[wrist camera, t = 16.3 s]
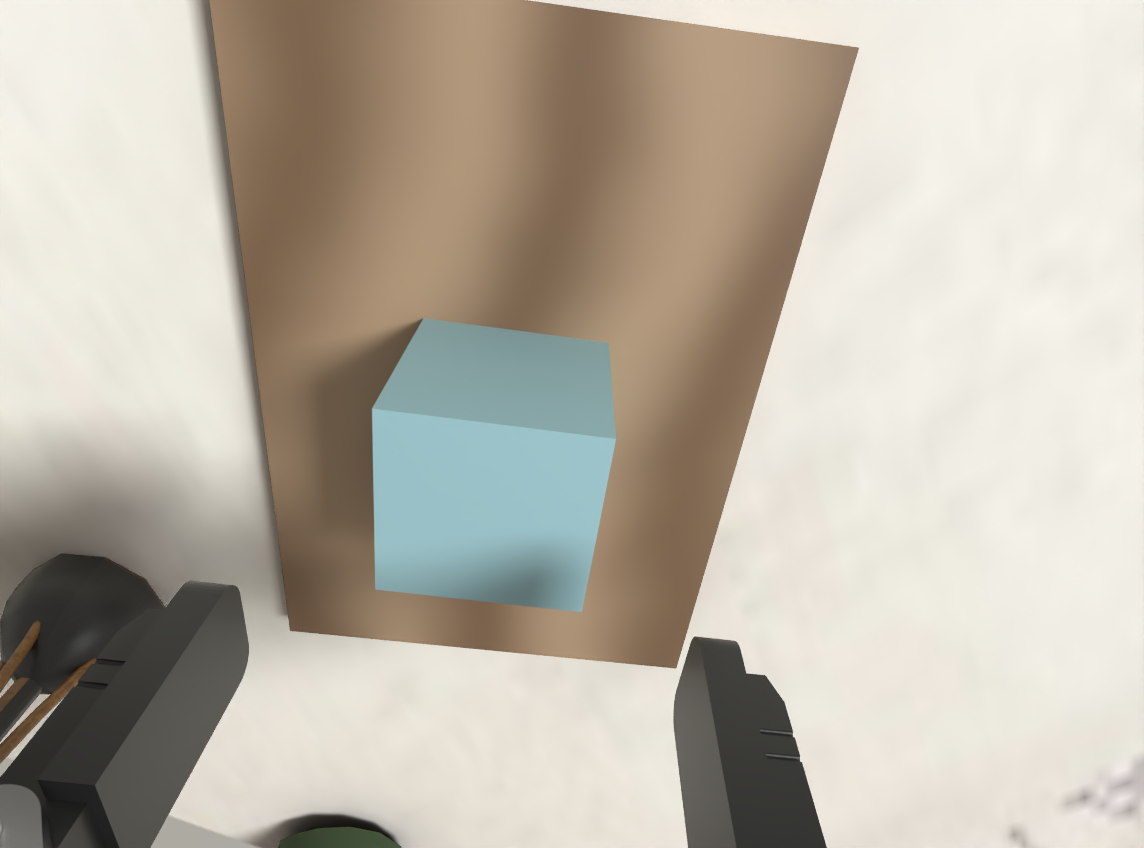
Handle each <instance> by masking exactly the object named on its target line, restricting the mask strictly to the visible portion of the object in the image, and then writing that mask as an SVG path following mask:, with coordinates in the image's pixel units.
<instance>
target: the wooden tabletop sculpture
mask: <svg viewBox="0 0 1144 848" xmlns="http://www.w3.org/2000/svg"><path fill="white" fill-rule="evenodd" d="M148 609H157V610H165V607H164V605H163V604H162V602H161V601H160V599H159V598H158V597H157V595H156V594H155V592H154V591H153V590H152V588H151V587H150V585H149V584H148V582H147V581H146V580H145V579H144V578H142V577H140V576H138V575H136V574H134V573H132V572H130V571H129V570H127V569H125V568H123V567H121V566H119V565H117V564H116V563H114V562H112V561H110V560H108V559H106V558H101V557H90V556H79V555H68V554H60V555H59V556H57V557H55V558H53V559H52V560H50V561H48V562H46V563H44V564H43V565H41V566H39V567H37V568H35V569H34V570H33V571H32V572H31V573H30V574H29V575H28V576H27V577H26V578H25V579H24V580H23V581H22V582H21V583H20V584H19V585H18V587H17V588H16V589H15V591H14V592H13V593H12V595H11V596H10V598H9V599H8V600H7V602H6V605H5V609H4V612H3V615H2V618H1V621H0V652H1V661H0V692H1V691H2V690H3V688H4V687H5V685H6V684H7V682H8V681H9V680H10V678H12V679H13V680H14V684H13V685H12V686H11V687H10V688H9V689H8V690H7V691H6V693H5V694H4V695H3V696H2V697H1V698H0V741H1V740H2V739H3V738H4V737H5V735H6V734H7V733H8V732H9V730H10V729H11V728H12V727H13V726H14V724H15V723H16V722H17V721H18V720H19V718H20V717H21V716H22V715H23V714H24V712H25V711H26V710H27V709H28V707H29V706H30V705H31V704H32V703H33V701H34V700H35V699H36V698H37V697H38V695H39V694H51V695H50V696H49V697H48V698H47V699H46V700H45V701H43V702H42V703H41V704H40V705H39V706H38V707H37V708H36V709H35V710H34V711H33V712H32V713H31V714H30V715H29V716H28V717H27V718H26V719H25V720H24V721H23V722H22V723H21V724H20V725H19V726H18V727H17V728H16V729H15V730H14V731H13V732H12V733H11V734H10V735H9V736H8V737H7V738H6V739H5V740H4V741H3V742H2V743H1V744H0V763H1V762H2V761H3V760H4V759H5V758H6V757H7V756H8V755H9V754H10V753H11V751H12V750H13V749H14V748H15V747H16V746H17V745H18V744H19V743H20V742H21V741H22V740H23V739H24V738H25V736H26V735H27V734H28V733H29V732H30V731H31V730H32V729H33V728H34V727H35V726H36V725H37V724H38V722H39V721H40V720H41V719H42V718H43V717H44V716H45V715H46V714H47V713H48V712H49V711H50V710H51V709H52V708H53V707H55V706H56V705H57V704H58V703H59V702H60V701H61V700H62V699H63V698H64V697H65V696H66V695H67V694H68V693H69V691H70V690H71V689H72V688H73V687H76V686H77V684H78V680H79V679H80V678H81V676H82V675H83V674H84V673H85V671H86V670H87V669H88V668H89V666H90V665H91V664H94V663H95V662H96V658H97V656H98V655H99V654H100V653H101V651H102V650H103V649H104V648H105V646H106V645H107V644H108V643H109V641H110V640H111V639H112V638H113V636H114V635H115V634H116V633H117V631H119V630H120V629H121V628H123V627H124V626H126V625H127V624H128V623H130V622H131V621H133V620H134V619H135V618H137V617H138V616H140V615H141V614H143V613H144V612H145V611H147V610H148Z"/></svg>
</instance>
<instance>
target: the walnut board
mask: <svg viewBox="0 0 1144 848" xmlns="http://www.w3.org/2000/svg"><path fill="white" fill-rule="evenodd" d="M209 2H210V10H211V18H212V26H213V34H214V41H215V49H216V57H217V65H218V73H219V80H220V88H221V96H222V104H223V112H224V119H225V127H226V135H227V143H228V151H229V158H230V166H231V174H232V182H233V190H234V197H235V205H236V213H237V221H238V229H239V236H240V244H241V252H242V260H243V268H244V275H245V283H246V291H247V299H248V307H249V314H250V322H251V330H252V338H253V346H254V353H255V361H256V369H257V377H258V385H259V392H260V400H261V408H262V416H263V424H264V431H265V439H266V447H267V455H268V463H269V470H270V478H271V486H272V494H273V502H274V509H275V517H276V525H277V533H278V541H279V548H280V556H281V564H282V572H283V580H284V587H285V595H286V603H287V611H288V619H289V626H290V631H298V632H308V633H319V634H329V635H339V636H349V637H360V638H370V639H380V640H390V641H401V642H411V643H421V644H431V645H442V646H452V647H462V648H472V649H483V650H493V651H503V652H514V653H524V654H534V655H544V656H555V657H565V658H575V659H585V660H596V661H606V662H616V663H626V664H637V665H647V666H657V667H667V668H676V667H677V664H678V660H679V657H680V654H681V650H682V647H683V643H684V640H685V637H686V633H687V630H688V626H689V623H690V620H691V616H692V613H693V610H694V606H695V603H696V599H697V596H698V593H699V589H700V586H701V582H702V579H703V576H704V572H705V569H706V565H707V562H708V559H709V555H710V552H711V548H712V545H713V542H714V538H715V535H716V531H717V528H718V525H719V521H720V518H721V514H722V511H723V508H724V504H725V501H726V497H727V494H728V491H729V487H730V484H731V481H732V477H733V474H734V470H735V467H736V464H737V460H738V457H739V453H740V450H741V447H742V443H743V440H744V436H745V433H746V430H747V426H748V423H749V419H750V416H751V413H752V409H753V406H754V402H755V399H756V396H757V392H758V389H759V385H760V382H761V379H762V375H763V372H764V368H765V365H766V362H767V358H768V355H769V351H770V348H771V345H772V341H773V338H774V335H775V331H776V328H777V324H778V321H779V318H780V314H781V311H782V307H783V304H784V301H785V297H786V294H787V290H788V287H789V284H790V280H791V277H792V273H793V270H794V267H795V263H796V260H797V256H798V253H799V250H800V246H801V243H802V239H803V236H804V233H805V229H806V226H807V222H808V219H809V216H810V212H811V209H812V206H813V202H814V199H815V195H816V192H817V189H818V185H819V182H820V178H821V175H822V172H823V168H824V165H825V161H826V158H827V155H828V151H829V148H830V144H831V141H832V138H833V134H834V131H835V127H836V124H837V121H838V117H839V114H840V110H841V107H842V104H843V100H844V97H845V93H846V90H847V87H848V83H849V80H850V76H851V73H852V70H853V66H854V63H855V60H856V56H857V53H858V49H859V48H857V47H850V46H843V45H836V44H829V43H822V42H815V41H808V40H801V39H794V38H787V37H780V36H773V35H766V34H759V33H752V32H745V31H738V30H731V29H724V28H717V27H710V26H703V25H696V24H689V23H682V22H675V21H668V20H661V19H654V18H647V17H640V16H633V15H626V14H619V13H612V12H605V11H598V10H591V9H584V8H577V7H570V6H563V5H556V4H549V3H542V2H535V1H528V0H209ZM423 318H426V319H434V320H441V321H449V322H456V323H464V324H472V325H479V326H487V327H494V328H502V329H509V330H517V331H524V332H532V333H539V334H547V335H555V336H562V337H570V338H577V339H585V340H592V341H600V342H607V343H609V353H610V366H611V379H612V392H613V405H614V418H615V431H616V442H615V447H614V452H613V457H612V462H611V467H610V473H609V478H608V483H607V488H606V493H605V498H604V503H603V508H602V513H601V518H600V523H599V528H598V533H597V538H596V543H595V548H594V553H593V558H592V564H591V569H590V574H589V579H588V584H587V589H586V594H585V599H584V604H583V609H582V612H574V611H565V610H556V609H547V608H538V607H529V606H520V605H511V604H502V603H493V602H484V601H475V600H466V599H457V598H447V597H438V596H429V595H420V594H411V593H402V592H393V591H384V590H375V547H374V490H373V433H372V408H373V406H374V404H375V403H376V401H377V399H378V397H379V396H380V394H381V392H382V390H383V389H384V387H385V385H386V383H387V382H388V380H389V378H390V376H391V375H392V373H393V371H394V369H395V367H396V366H397V364H398V362H399V360H400V359H401V357H402V355H403V353H404V352H405V350H406V348H407V346H408V345H409V343H410V341H411V339H412V338H413V336H414V334H415V332H416V331H417V329H418V327H419V325H420V324H421V322H422V320H423Z"/></svg>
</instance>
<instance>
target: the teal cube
mask: <svg viewBox="0 0 1144 848" xmlns="http://www.w3.org/2000/svg"><path fill="white" fill-rule="evenodd" d="M372 433H373V490H374V547H375V590H384V591H393V592H402V593H411V594H420V595H429V596H438V597H447V598H457V599H466V600H475V601H484V602H493V603H502V604H511V605H520V606H529V607H538V608H547V609H556V610H565V611H574V612H582V609H583V604H584V599H585V594H586V589H587V584H588V579H589V574H590V569H591V564H592V558H593V553H594V548H595V543H596V538H597V533H598V528H599V523H600V518H601V513H602V508H603V503H604V498H605V493H606V488H607V483H608V478H609V473H610V467H611V462H612V457H613V452H614V447H615V442H616V431H615V418H614V405H613V392H612V379H611V366H610V353H609V343H607V342H600V341H592V340H585V339H577V338H570V337H562V336H555V335H547V334H539V333H532V332H524V331H517V330H509V329H502V328H494V327H487V326H479V325H472V324H464V323H456V322H449V321H441V320H434V319H426V318H423V320H422V322H421V324H420V325H419V327H418V329H417V331H416V332H415V334H414V336H413V338H412V339H411V341H410V343H409V345H408V346H407V348H406V350H405V352H404V353H403V355H402V357H401V359H400V360H399V362H398V364H397V366H396V367H395V369H394V371H393V373H392V375H391V376H390V378H389V380H388V382H387V383H386V385H385V387H384V389H383V390H382V392H381V394H380V396H379V397H378V399H377V401H376V403H375V404H374V406H373V408H372Z"/></svg>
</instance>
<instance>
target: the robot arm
mask: <svg viewBox="0 0 1144 848" xmlns="http://www.w3.org/2000/svg"><path fill="white" fill-rule="evenodd" d="M248 655H249V644H248V638H247V632H246V626H245V620H244V614H243V608H242V602H241V596H240V592H239V589H238V588H237V587H236V586H234V585H225V584H215V583H206V582H197V581H189V582H187V583H185V584H184V585H183V586H182V587H181V589H180V590H179V591H178V592H177V594H176V595H175V596H174V598H173V599H172V600H171V602H170V603H169V604H168V606H167V607H166V608H165V610H157V609H148V610H147V611H145V612H144V613H143V614H141V615H140V616H138V617H137V618H135V619H134V620H133V621H131V622H130V623H128V624H127V625H126V626H124V627H123V628H121V629H120V630H119V631H117V633H116V634H115V635H114V636H113V638H112V639H111V640H110V641H109V643H108V644H107V645H106V646H105V648H104V649H103V650H102V651H101V653H100V654H99V655H98V656H97V658H96V662H95V663H94V664H91V665H90V666H89V668H88V669H87V670H86V671H85V673H84V674H83V675H82V676H81V678H80V679H79V680H78V684H77V686H76V687H73V688H72V689H71V690H70V691H69V693H68V694H67V695H66V696H65V698H64V699H63V700H62V701H61V703H60V704H59V705H58V706H57V708H56V709H55V710H54V711H53V713H52V714H51V715H50V716H49V718H48V719H47V720H46V721H45V723H44V724H43V725H42V726H41V728H40V729H39V730H38V731H37V733H36V734H35V735H34V736H33V738H32V739H31V740H30V741H29V743H28V744H27V745H26V746H25V747H24V749H23V750H22V751H21V752H20V754H19V755H18V756H17V757H16V759H15V760H14V761H13V763H12V764H11V765H10V766H9V767H8V769H7V770H6V771H5V773H4V774H3V775H2V776H1V777H0V848H150V847H151V845H152V843H153V842H154V840H155V838H156V836H157V834H158V833H159V831H160V829H161V827H162V825H163V823H164V821H165V819H166V818H167V816H168V814H169V812H170V811H171V809H172V807H173V805H174V803H175V801H176V800H177V798H178V796H179V794H180V792H181V790H182V789H183V787H184V785H185V783H186V781H187V780H188V778H189V776H190V774H191V772H192V770H193V769H194V767H195V765H196V763H197V761H198V759H199V758H200V756H201V754H202V752H203V750H204V748H205V747H206V745H207V743H208V741H209V739H210V737H211V736H212V734H213V732H214V730H215V728H216V726H217V725H218V723H219V721H220V719H221V717H222V715H223V714H224V712H225V710H226V708H227V706H228V704H229V703H230V701H231V699H232V697H233V695H234V694H235V692H236V690H237V688H238V686H239V684H240V682H241V680H242V678H243V675H244V673H245V669H246V666H247V661H248ZM674 732H675V741H676V749H677V758H678V766H679V774H680V783H681V791H682V799H683V808H684V816H685V824H686V833H687V841H688V848H827V847H826V844H825V840H824V837H823V833H822V830H821V826H820V823H819V820H818V816H817V813H816V809H815V806H814V802H813V799H812V795H811V792H810V789H809V785H808V782H807V778H806V775H805V771H804V768H803V765H802V762H800V754H799V751H798V747H797V744H796V740H795V738H794V737H793V730H792V727H791V723H790V720H789V716H788V713H787V710H786V706H785V703H784V701H783V700H782V698H781V697H780V695H779V694H778V693H777V691H776V690H775V688H774V687H773V686H772V684H771V683H770V681H769V680H768V679H767V677H766V676H765V675H756V674H746V671H745V666H744V662H743V658H742V654H741V650H740V647H739V645H738V643H737V642H736V641H731V640H722V639H712V638H703V637H694V638H693V639H692V641H691V644H690V647H689V650H688V654H687V657H686V660H685V664H684V667H683V670H682V674H681V677H680V680H679V684H678V687H677V690H676V695H675V701H674Z"/></svg>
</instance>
